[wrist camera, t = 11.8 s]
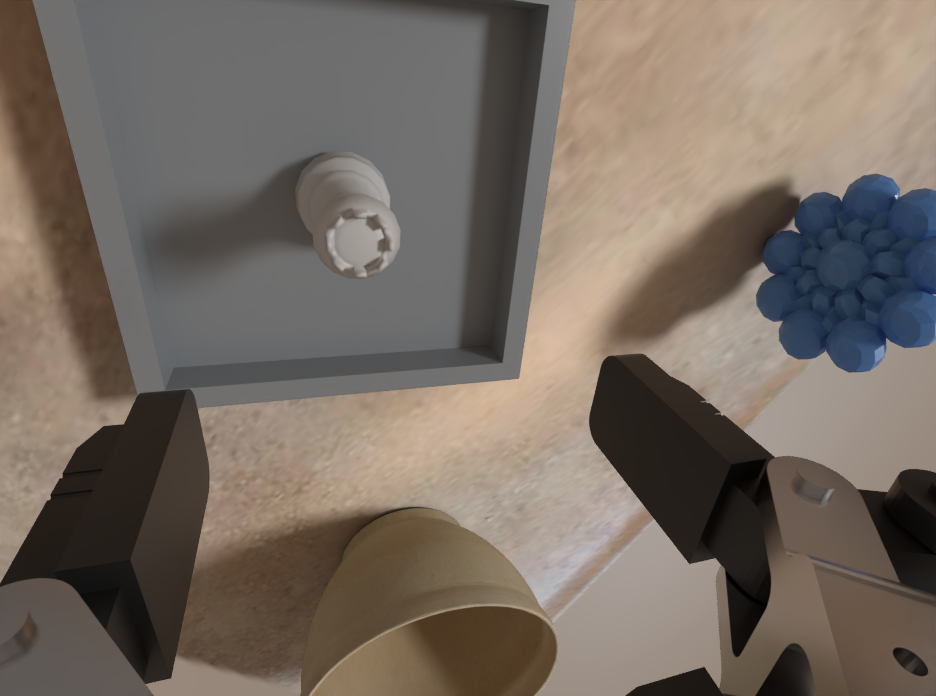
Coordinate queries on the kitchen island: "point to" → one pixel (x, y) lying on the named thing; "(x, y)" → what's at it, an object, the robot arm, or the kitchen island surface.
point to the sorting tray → (278, 170)
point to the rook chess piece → (348, 214)
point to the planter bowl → (427, 617)
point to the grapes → (854, 274)
